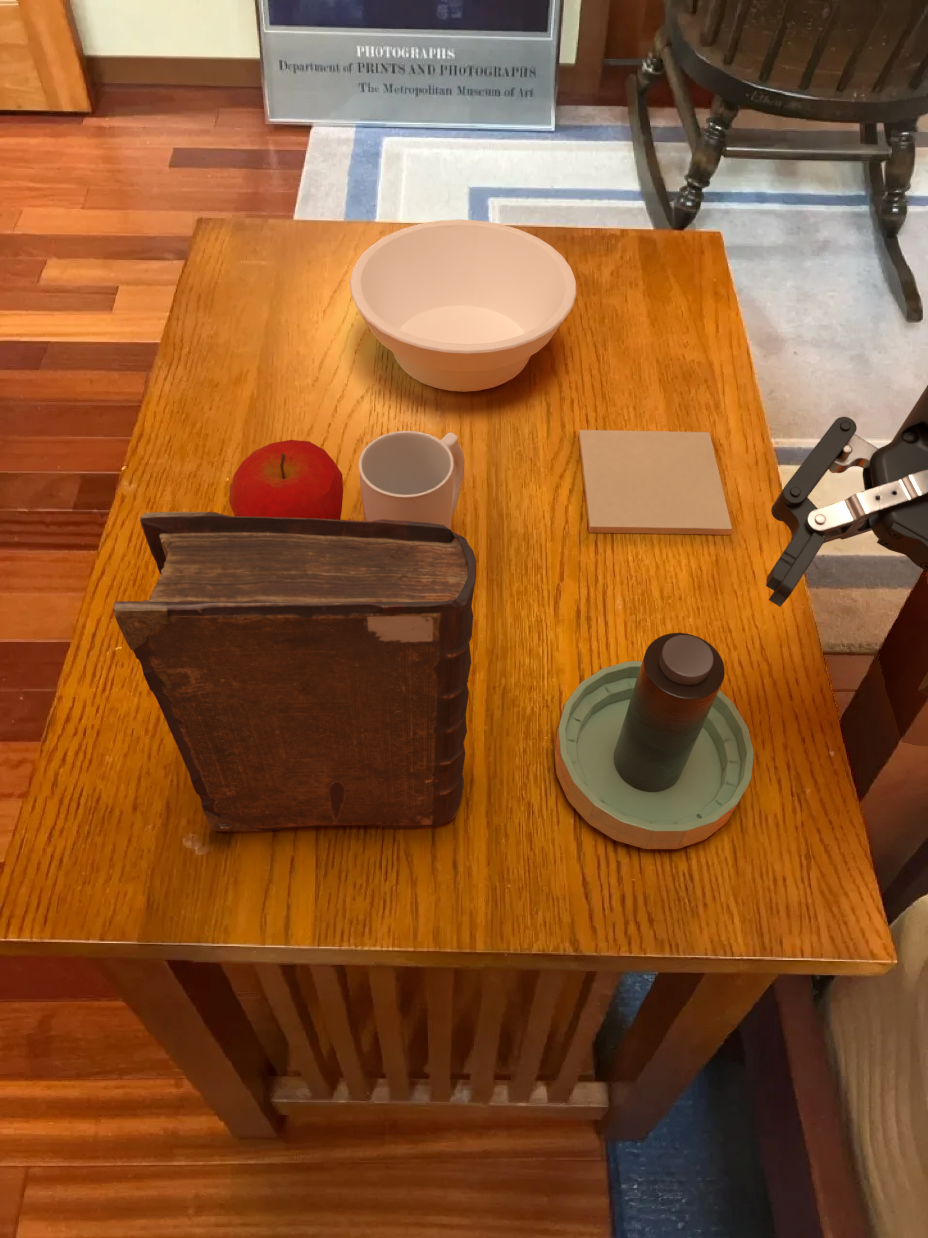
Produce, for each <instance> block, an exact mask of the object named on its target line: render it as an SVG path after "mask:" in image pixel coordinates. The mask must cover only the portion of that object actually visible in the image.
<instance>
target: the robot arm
mask: <svg viewBox="0 0 928 1238" xmlns="http://www.w3.org/2000/svg"><path fill="white" fill-rule="evenodd" d="M857 428H858V427H857V424H856V421H854V420H853V419H852V418H851V417H848V416H840V417H838V418H836V419H835V420H834V421H833V422H832V424H831V425H830V426H829V428H828V429H827V430H826V432H825V433H824V434H823V435H822V437H821V438H820V440H819V441H818V442H817V444H816V445H815V446H814V448H813V449H812V450H811V451H810V452H809V454H808V455H807V457H806V458H805V459H804V460H803V462H802V463H801V465H800V466H799V467H798V468H797V470H796V471H795V472H794V474H792V476H791V477H790V478H789V480H788V482H786V484H785V485H784V486H783V488H782V490H781V492H780V493H779V495H778V496H777V498H776V499H775V501H774V503H773V504H772V506H771V509H770V512H771V516H772V517H773V518H774V519H775V520H777V521H779V522H783V523H784V524H785V525H786V526H787V527H788V529H789V530H790V535H791V537H790V541H789V542H788V544H787V545H786V547H785V548H784V550H783V551H782V553H781V555H780V556H779V557H778V560H777V561H776V562H775V564H774V566H773V567H772V568H771V570H770V571H769V573H768V574H767V577H766V582H765V586H766V587H767V588H769V590H772V593H771V595H770V596H769V597H768V601H769V602H771V603H773V604H774V605H776V606H777V607H780V608H781V607H782V605H783V604H784V603H785V602H786V601H787V600H788V599H789V597H790V596H791V595H792V593H793V592H794V590H795V588H796V587H797V585H798V584H799V582H800V581H801V579H802V577H803V576H804V574H805V573H806V571H807V569H808V568H809V567H810V565H811V563H812V562H813V561H814V559H815V557H816V555H817V554H818V553H819V551H820V549H821V548H822V546H823V545H824V544H827V543H830V542H832V541H835V540H839V539H840V540H846V539H850V538H853V537H856V536H859V535H862V534H865V533H868V532H871V531H872V533H873V534H874V536H875V537H876V538H877V539H878V540H877V541H876V544H878V545H880V546H881V547H883V548H885V549H886V550H889V551H891V552H895V553H898V554H900V555H904V556H905V557H907V558H908V559H909V560H910V561H911V562H912V563H913V564H914V565H915V566H916V567H918V568H920V569H922V570H924V571H925V572H927V573H928V384H927V385H926V387H925V388H924V390H923V392H922V393H921V394H920V396H919V398H918V399H917V401H916V402H915V404H914V405H913V407H912V408H911V410H910V412H909V413H908V415H907V417H906V418H905V419H904V421H903V422H902V424H901V426H900V427H899V429H898V430H897V432H896V433H895V435H894V437H893V439H892V440H891V441H890V442H889V443H887V444H886V445H883V446H880V447H879V448H878V447H877V446H875V445H873V444H872V443H870V442H869V441H867V440H865V439H864V438H862V437H861V436H859V435H857V434H856V432H857V430H858V429H857ZM852 467H859V468H862V481H863V489H864V490H862V491H859V492H856V493H854V494H852V495H851V496H849V497H847V498H846V499H843V500H841V501H838V502H835V503H831V504H827V505H825V506H822V507H819V508H818V507H817V506H816V504H814V503H813V501H812V500H811V499H810V498H809V496H810V495H811V493H812V492H813V491H814V489H815V488H816V487H817V485H818V484H819V483H820V482H821V480H822V479H823V477H824V476H825V475H826V474H827V472H828V471H829V472H830V473H831V474H842V473H845V472H846V471H848V469H849V468H852ZM917 691H918V692H919V693H921V694H922V695H925V696H926V697H928V672H926V674H925V676H924V678H923V679H922V681H921V683H920V684H919V686H918V688H917Z"/></svg>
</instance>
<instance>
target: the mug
mask: <svg viewBox="0 0 928 1238" xmlns="http://www.w3.org/2000/svg"><path fill="white" fill-rule="evenodd" d="M358 471H359V484H360V492H361V500H362V510H363V517H364V521H374V520H380V519H385V520H396V521H414V522H424V523H433V524H440V525H444V526H446V527H447V528H449V529H450V530H452V517H453V516H454V515H455V513H456V511H457V507H458V503H459V499H460V495H461V491H462V485H463V480H464V474H465V455H464V451H463V449H462V446H461V445H460V443H459V436H458V435H457V434H456V433H453V432H447V433H446V434H445V435H444V436H443V437H442V438H441V439H440V438H438V437H436V436H435V435H432V434H429V433H426V432H422V431H416V430H398V431H393V432H388V433H385V434H383V435H381V436H378V437H377V438H375V439H373V440H372V441H371V442H369V443H368V444H367V445H366V446H365V447H364V448H363V450H362V452H361V453H360V456H359V459H358Z"/></svg>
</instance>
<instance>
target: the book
mask: <svg viewBox="0 0 928 1238" xmlns="http://www.w3.org/2000/svg"><path fill="white" fill-rule="evenodd" d="M139 523H140V525H141V528H142V531H143V534H144V537H145V540H146V543H147V545H148V548H149V551H150V554H151V556H152V557H153V559H154V561H155V563H156V566H157V567H156V568H157V570H158V572H159V575H160V576H159V578H157V582H156V584H155V586H154V588H153V590H152V592H151V594H150V596H149V599H146V600H145V599H144V600H141V601H140V600H138V601H136V600H129V601H128V600H127V601H126V600H121V601H120V600H119V601H115V602H113V615H114V618H115V621H116V624H117V625H118V628H119V630H120V633H122V634H121V635H122V636H123V638H124V640H125V642H126V644H127V646H128V648H129V649H130V650H131V651H132V652H133V655H134V656H135V658H136V660H138V661H139V664H140V665H141V669H142V675H143V677H144V679H145V681H146V683H147V686H148V688H149V690H150V691H151V693H152V694H153V696H154V697H155V699H156V701H157V703H158V706H159V708H160V710H161V712H162V714H163V717H164V720H165V722H166V725H167V726H168V729H169V731H170V734H171V735H172V737H173V740H174V743H175V745H176V746H177V749H178V751H179V753H180V756H181V759H182V760H183V763H184V765H185V768H186V769H187V771H188V774H189V777H190V780H191V784H192V786H193V789H194V791H195V793H196V795H198V797H199V799H200V802H201V808H202V811H203V813H204V816H205V818H206V821H207V823H208V826H209V828H210V829H211V831H213V832H273V831H274V832H275V831H278V830H287V829H302V828H303V829H305V828H320V827H325V828H326V827H384V828H387V829H394V830H396V829H398V830H418V829H433V828H435V829H436V828H439V827H440V826H442V825H444V824H445V823H447V822H448V823H449V822H451V821H452V820H453V819H454V818H455V817H456V816H457V814H458V811H459V808H460V804H461V801H462V798H463V793H464V788H465V786H464V785H465V784H464V782H465V780H464V779H465V778H464V776H463V772H464V765H465V758H466V748H465V740H466V736H467V732H468V729H467V728H468V727H467V726H468V725H467V709H468V702H469V696H470V695H469V694H470V691H469V685H468V682H469V679H470V673H471V667H472V656H471V644H470V641H471V639H472V637H473V629H474V611H473V607H472V606H473V598H474V591H475V586H476V580H477V559H476V556H475V552H474V550H473V548H472V547H471V546H470V544H469V543H468V540H467V538H466V537H464V536H463V535H461V534H458V533H457V532H454V531H453V530H452V529H451V530H450V529H449V528H447V527H446V526H444V525H440V524H433V523H424V522H414V521H396V520H385V519H380V520H374V521H365V520H349V519H341V520H335V519H317V518H284V517H240V516H234V515H233V516H231V515H228V514H223V513H218V512H216V511H154V512H153V511H152V512H144V513H142V515H141V516H140V517H139Z"/></svg>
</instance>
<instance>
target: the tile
mask: <svg viewBox="0 0 928 1238" xmlns="http://www.w3.org/2000/svg"><path fill="white" fill-rule="evenodd" d="M577 438H578V444H579V455H580V465H581V472H582V473H581V474H582V482H583V483H582V484H583V491H584V502H585V511H586V519H587V529H588V533H591V534H594V533H595V534H643V535H644V534H645V535H646V534H648V535H649V534H651V535H654V534H655V535H709V536H710V535H711V536H713V535H715V536H716V535H717V536H730V535H731V534H732V530H733V526H732V522H731V517H730V513H729V509H728V504H727V501H726V497H725V496H726V495H725V493H724V488H723V483H722V479H721V476H720V471H719V466H718V462H717V458H716V453H715V450H714V445H713V439H712V436H711V432H710V431H677V430H676V431H673V430H670V431H669V430H622V429H621V430H619V429H618V430H615V429H613V430H611V429H607V430H606V429H579V431H578V437H577Z"/></svg>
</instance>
